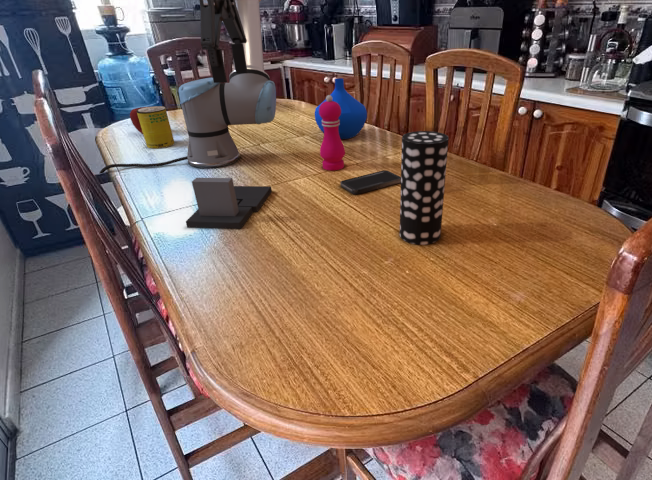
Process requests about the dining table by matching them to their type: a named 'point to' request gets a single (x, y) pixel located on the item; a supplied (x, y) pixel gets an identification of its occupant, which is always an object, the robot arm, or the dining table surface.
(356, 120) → the vase
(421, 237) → the spotted tube
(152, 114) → the yellow can
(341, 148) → the pepper mill
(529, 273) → the dining table surface
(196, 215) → the tab pad
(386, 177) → the phone
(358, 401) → the dining table surface
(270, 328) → the dining table surface
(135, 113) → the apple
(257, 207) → the notch pad
